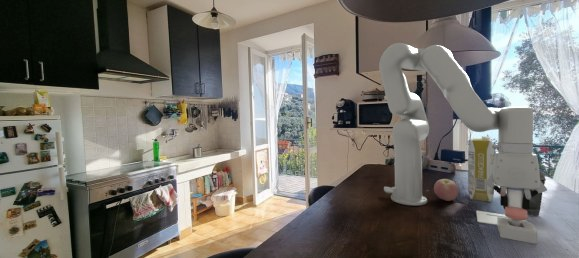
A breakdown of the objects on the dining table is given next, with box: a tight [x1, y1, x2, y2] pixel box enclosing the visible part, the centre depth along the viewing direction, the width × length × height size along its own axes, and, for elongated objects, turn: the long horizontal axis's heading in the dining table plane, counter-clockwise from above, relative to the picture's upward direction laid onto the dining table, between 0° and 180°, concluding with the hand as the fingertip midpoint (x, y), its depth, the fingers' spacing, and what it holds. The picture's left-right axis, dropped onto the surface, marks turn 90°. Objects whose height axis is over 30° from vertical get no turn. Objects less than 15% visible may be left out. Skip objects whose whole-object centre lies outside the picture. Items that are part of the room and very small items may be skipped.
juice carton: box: [467, 136, 495, 203], centre depth 96 cm, size 9×8×24 cm
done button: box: [504, 206, 528, 227], centre depth 67 cm, size 4×4×5 cm
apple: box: [433, 178, 459, 202], centre depth 96 cm, size 8×8×8 cm
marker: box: [506, 187, 523, 221], centre depth 74 cm, size 4×4×11 cm
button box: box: [496, 217, 538, 245], centre depth 67 cm, size 7×7×3 cm
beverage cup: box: [523, 168, 547, 217], centre depth 81 cm, size 7×7×20 cm
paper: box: [475, 210, 527, 226], centre depth 77 cm, size 12×10×1 cm
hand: (514, 209), depth 75 cm, fingers closed on marker, 3 cm apart
